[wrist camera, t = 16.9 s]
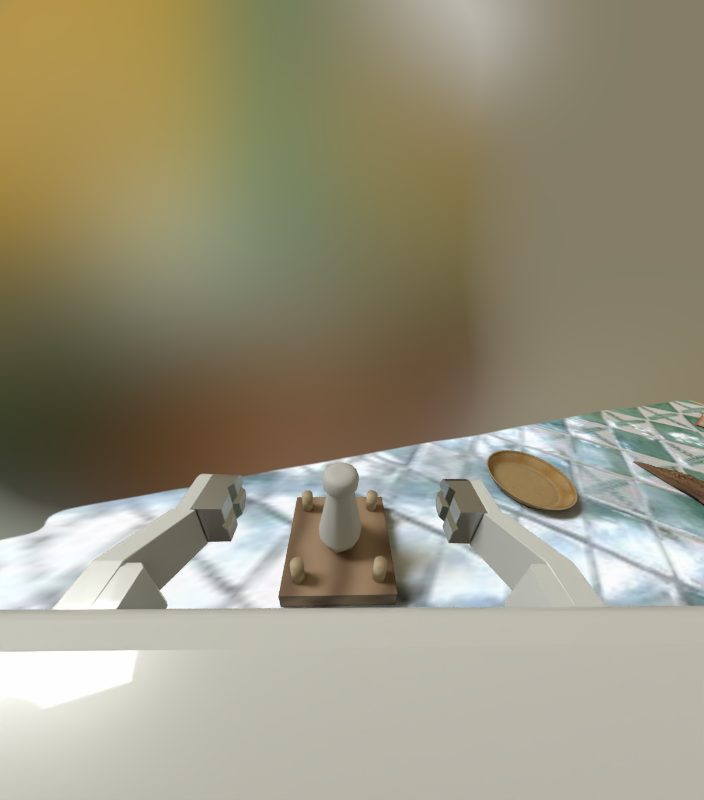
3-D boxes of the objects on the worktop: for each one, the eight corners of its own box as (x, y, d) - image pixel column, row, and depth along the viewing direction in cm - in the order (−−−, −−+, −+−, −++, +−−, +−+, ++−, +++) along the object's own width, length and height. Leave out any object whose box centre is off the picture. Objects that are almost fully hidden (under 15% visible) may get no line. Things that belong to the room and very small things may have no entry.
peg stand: (280, 606, 31) (275, 583, 28) (298, 507, 43) (296, 484, 40) (394, 604, 31) (400, 581, 29) (380, 507, 43) (383, 484, 41)
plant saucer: (577, 487, 49) (584, 477, 48) (562, 536, 40) (569, 526, 39) (498, 450, 58) (501, 441, 57) (471, 483, 49) (474, 473, 48)
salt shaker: (348, 514, 39) (351, 449, 33) (367, 547, 35) (375, 479, 28) (313, 530, 37) (308, 463, 30) (328, 567, 32) (327, 498, 26)
